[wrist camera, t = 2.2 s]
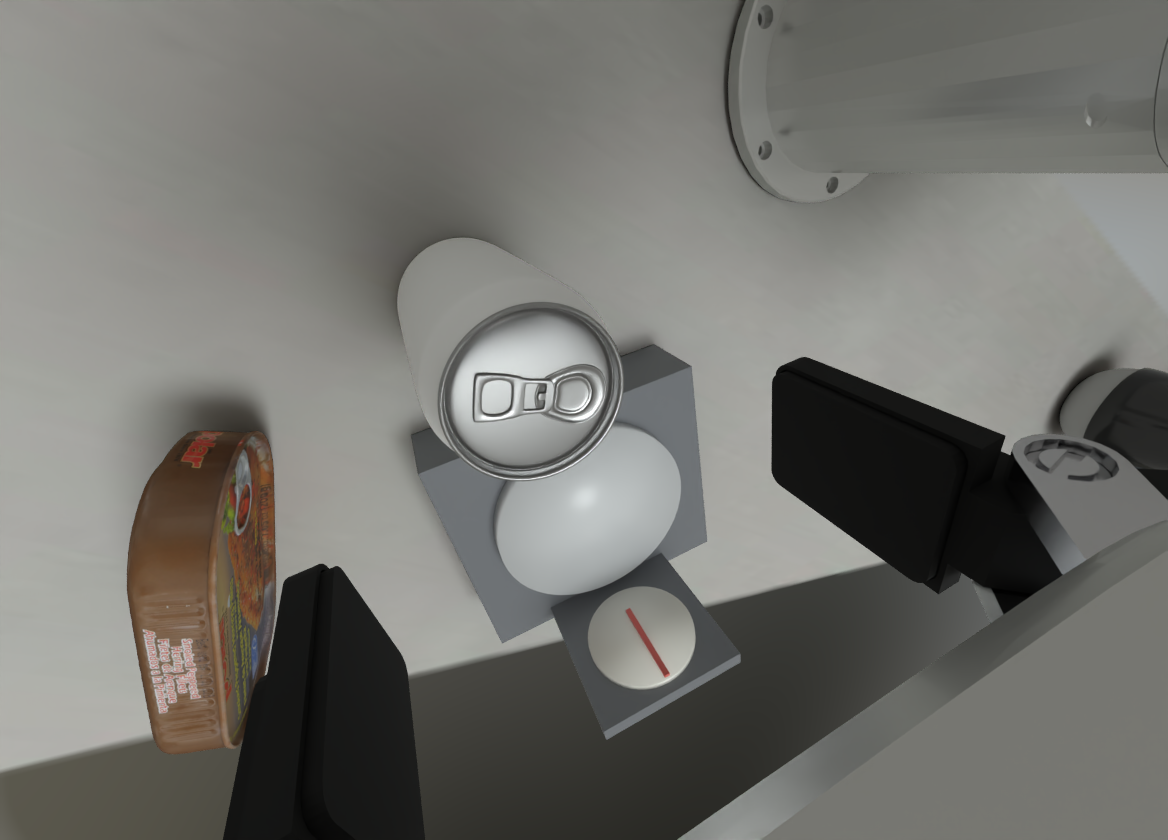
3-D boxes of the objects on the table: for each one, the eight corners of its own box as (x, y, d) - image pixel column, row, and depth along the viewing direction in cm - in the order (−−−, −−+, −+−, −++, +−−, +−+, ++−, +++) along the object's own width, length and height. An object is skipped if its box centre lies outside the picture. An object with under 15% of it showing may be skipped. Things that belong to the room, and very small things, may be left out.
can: (523, 366, 26) (619, 482, 16) (398, 367, 24) (422, 505, 14) (533, 242, 24) (654, 293, 14) (393, 228, 21) (418, 277, 11)
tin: (277, 636, 28) (248, 790, 21) (210, 645, 26) (155, 813, 19) (273, 399, 22) (232, 502, 15) (188, 395, 21) (101, 505, 14)
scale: (411, 435, 25) (440, 601, 16) (654, 344, 29) (804, 433, 19) (488, 595, 33) (541, 779, 23) (675, 507, 36) (793, 633, 26)
